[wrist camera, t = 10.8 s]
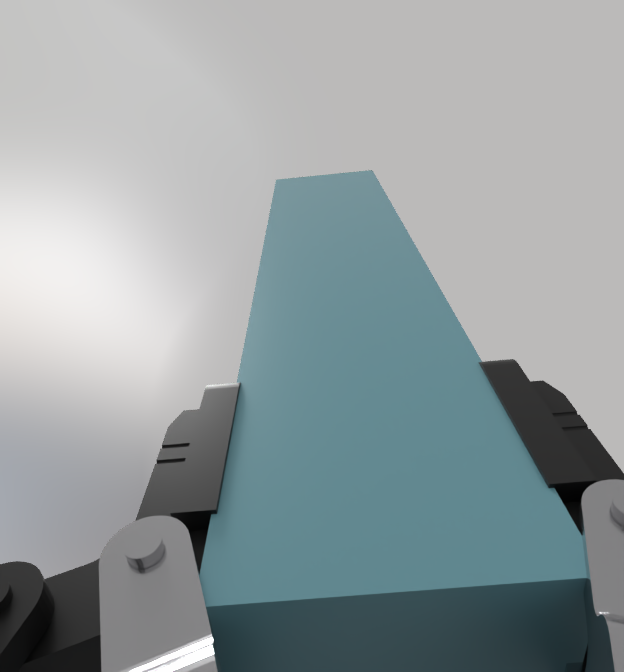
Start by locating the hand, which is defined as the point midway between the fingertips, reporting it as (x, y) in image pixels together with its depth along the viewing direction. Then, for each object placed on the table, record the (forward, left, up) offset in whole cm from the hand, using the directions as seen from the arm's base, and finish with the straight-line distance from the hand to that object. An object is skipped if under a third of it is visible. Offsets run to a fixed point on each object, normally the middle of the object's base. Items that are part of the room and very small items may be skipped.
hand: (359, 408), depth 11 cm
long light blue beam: (-3, +5, +3) cm, 7 cm away
